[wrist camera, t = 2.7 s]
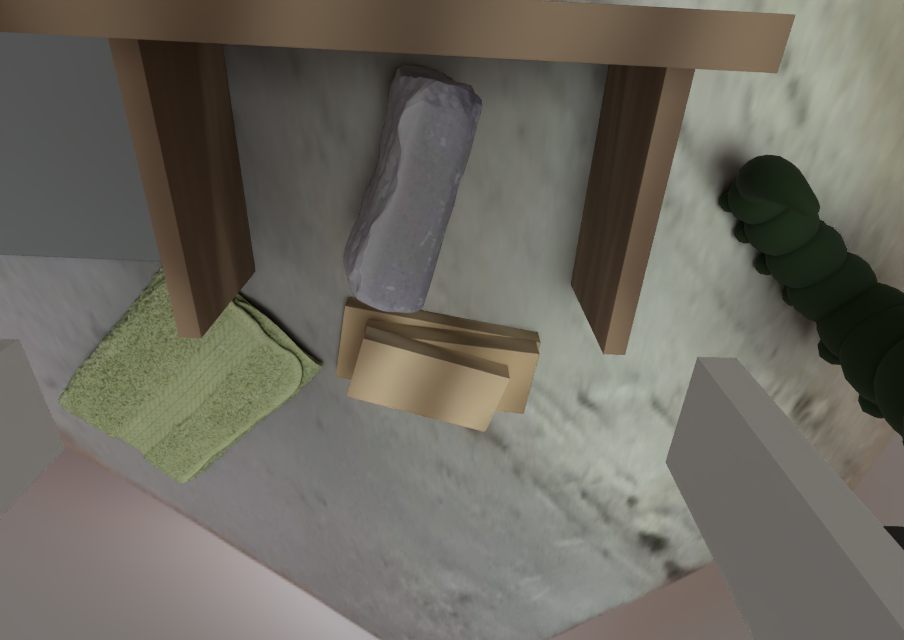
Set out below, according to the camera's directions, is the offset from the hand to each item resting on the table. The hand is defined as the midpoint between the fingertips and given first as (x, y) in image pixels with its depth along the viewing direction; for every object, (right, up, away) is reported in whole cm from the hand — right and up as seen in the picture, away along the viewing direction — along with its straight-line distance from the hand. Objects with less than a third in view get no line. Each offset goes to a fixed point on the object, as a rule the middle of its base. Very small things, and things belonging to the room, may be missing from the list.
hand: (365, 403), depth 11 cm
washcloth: (-18, -2, +30) cm, 36 cm away
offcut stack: (+1, 0, +29) cm, 29 cm away
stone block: (0, +12, +23) cm, 25 cm away
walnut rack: (-1, +12, +22) cm, 25 cm away
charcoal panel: (-21, +14, +21) cm, 33 cm away
